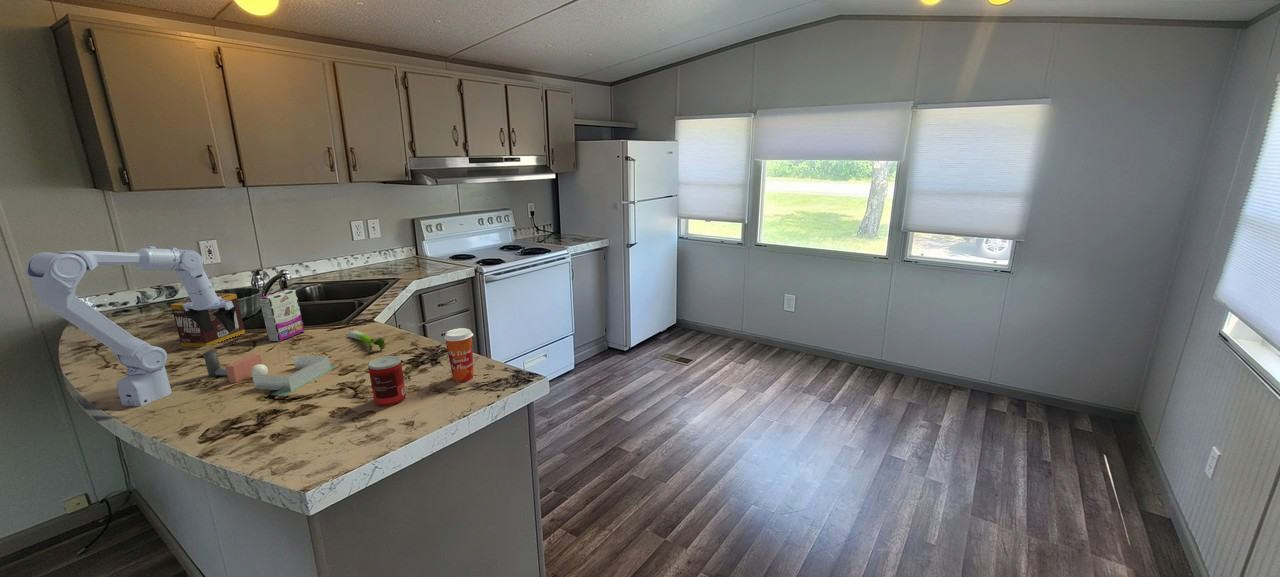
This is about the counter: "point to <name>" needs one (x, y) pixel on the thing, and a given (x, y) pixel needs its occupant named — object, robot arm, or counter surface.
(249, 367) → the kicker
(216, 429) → the counter surface
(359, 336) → the leek
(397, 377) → the canned food
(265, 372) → the ball
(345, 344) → the counter surface
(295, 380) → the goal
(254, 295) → the bundt pan
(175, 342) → the counter surface
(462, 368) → the paper cup
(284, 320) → the candy bar box
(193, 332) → the supplement box
